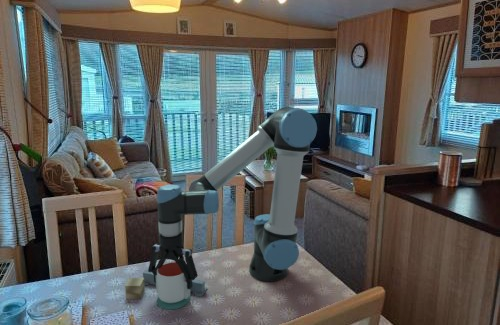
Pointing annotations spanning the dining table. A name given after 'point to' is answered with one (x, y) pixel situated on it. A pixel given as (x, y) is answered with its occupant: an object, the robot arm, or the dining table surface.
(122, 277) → the dining table surface
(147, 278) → the rail
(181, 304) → the coaster
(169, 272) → the cup
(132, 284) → the oak block
